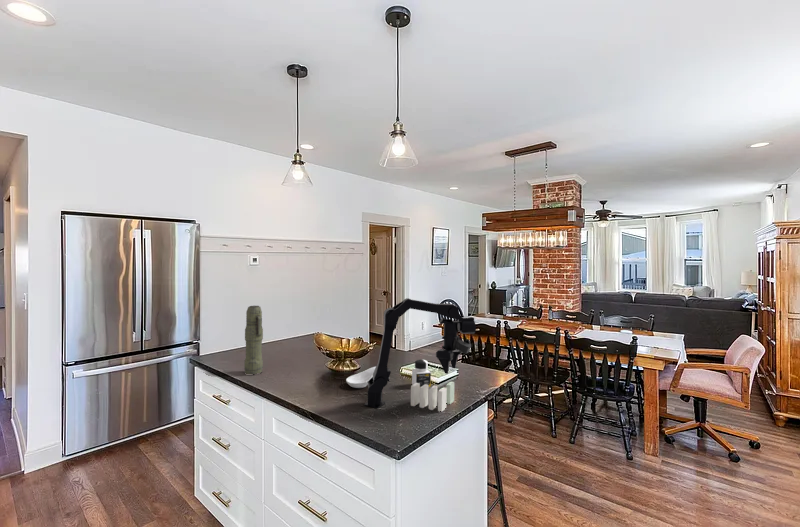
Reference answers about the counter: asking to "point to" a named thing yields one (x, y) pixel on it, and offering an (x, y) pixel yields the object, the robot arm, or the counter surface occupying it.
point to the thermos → (253, 340)
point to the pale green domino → (450, 392)
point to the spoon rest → (361, 378)
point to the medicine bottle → (421, 373)
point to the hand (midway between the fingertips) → (450, 370)
